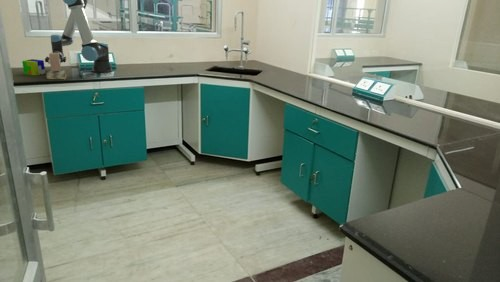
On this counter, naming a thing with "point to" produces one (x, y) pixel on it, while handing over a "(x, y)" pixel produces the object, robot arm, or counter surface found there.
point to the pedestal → (56, 75)
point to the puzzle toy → (33, 67)
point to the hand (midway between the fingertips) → (54, 62)
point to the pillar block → (54, 62)
